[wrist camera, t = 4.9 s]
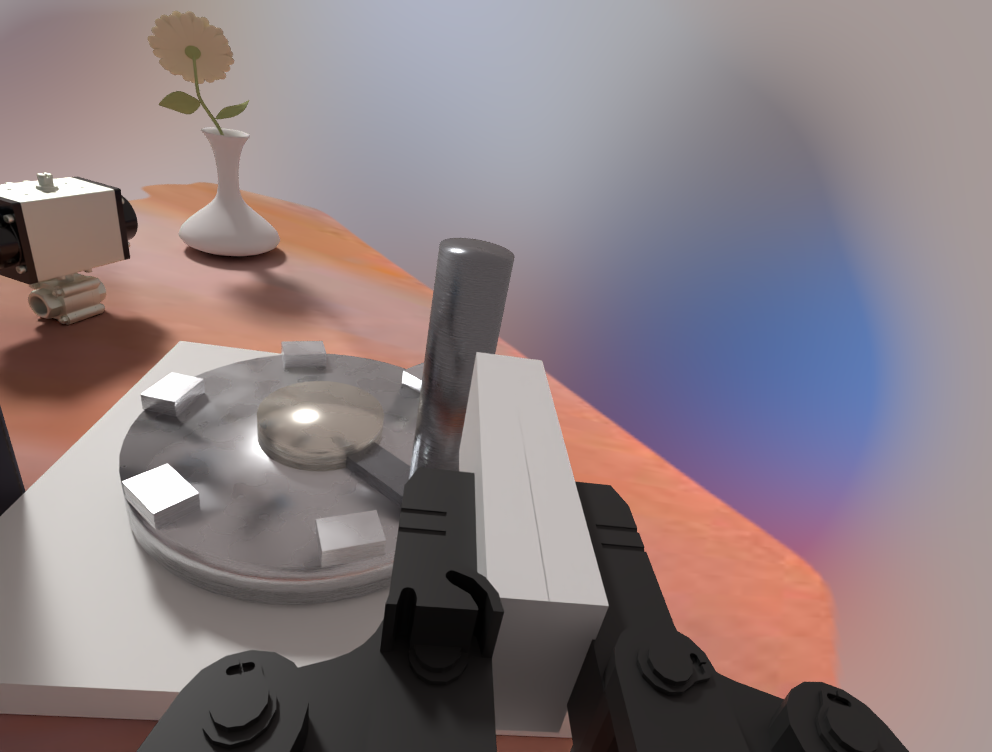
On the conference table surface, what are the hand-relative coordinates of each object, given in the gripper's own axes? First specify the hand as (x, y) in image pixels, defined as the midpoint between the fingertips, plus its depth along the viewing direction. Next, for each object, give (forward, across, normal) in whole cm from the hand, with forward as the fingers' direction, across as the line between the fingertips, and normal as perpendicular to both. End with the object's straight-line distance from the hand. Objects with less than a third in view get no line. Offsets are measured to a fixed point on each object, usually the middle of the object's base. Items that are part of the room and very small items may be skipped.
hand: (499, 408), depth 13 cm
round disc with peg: (+17, -7, -16) cm, 24 cm away
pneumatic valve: (+37, -34, -18) cm, 53 cm away
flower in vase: (+60, -29, -18) cm, 68 cm away
